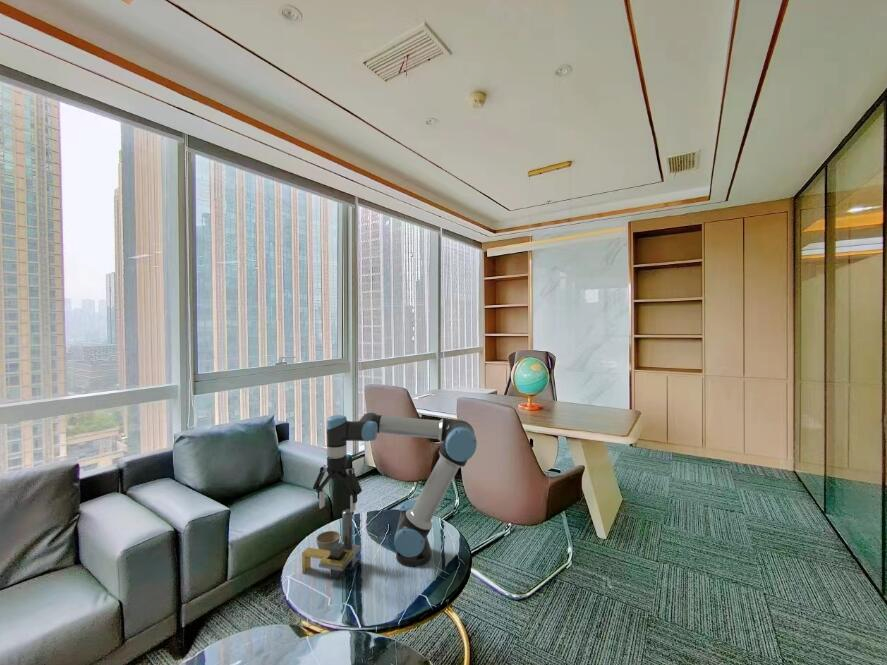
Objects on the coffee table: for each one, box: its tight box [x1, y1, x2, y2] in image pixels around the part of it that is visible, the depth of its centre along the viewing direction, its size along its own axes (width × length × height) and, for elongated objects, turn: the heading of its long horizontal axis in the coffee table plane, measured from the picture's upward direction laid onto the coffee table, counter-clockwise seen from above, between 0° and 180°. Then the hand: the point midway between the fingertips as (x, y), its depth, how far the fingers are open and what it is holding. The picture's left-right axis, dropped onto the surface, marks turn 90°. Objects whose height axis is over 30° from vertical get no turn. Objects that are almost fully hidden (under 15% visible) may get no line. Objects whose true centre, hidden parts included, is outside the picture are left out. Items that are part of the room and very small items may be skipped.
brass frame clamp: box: [301, 508, 362, 575], centre depth 155 cm, size 20×16×22 cm
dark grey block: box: [329, 542, 346, 581], centre depth 151 cm, size 4×4×12 cm
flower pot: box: [315, 530, 341, 551], centre depth 167 cm, size 10×10×7 cm
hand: (337, 509), depth 151 cm, fingers open, 13 cm apart
